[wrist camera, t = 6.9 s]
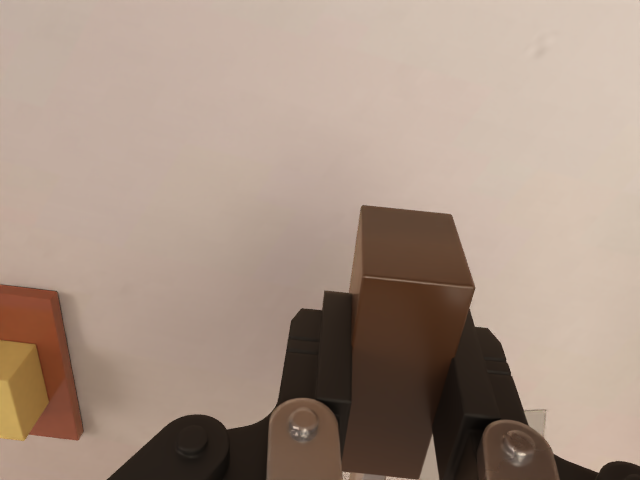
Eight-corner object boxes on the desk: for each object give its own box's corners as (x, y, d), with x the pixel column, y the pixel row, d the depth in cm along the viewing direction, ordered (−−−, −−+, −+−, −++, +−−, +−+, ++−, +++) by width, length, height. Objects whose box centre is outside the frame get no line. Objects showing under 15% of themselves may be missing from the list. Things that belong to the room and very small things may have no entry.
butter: (-14, 337, 31) (-48, 374, 29) (36, 343, 31) (7, 381, 29) (3, 396, 34) (-26, 435, 31) (49, 402, 34) (24, 441, 31)
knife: (360, 204, 13) (362, 275, 10) (452, 213, 13) (477, 287, 10) (316, 518, 19) (311, 609, 17) (376, 524, 19) (380, 616, 17)
